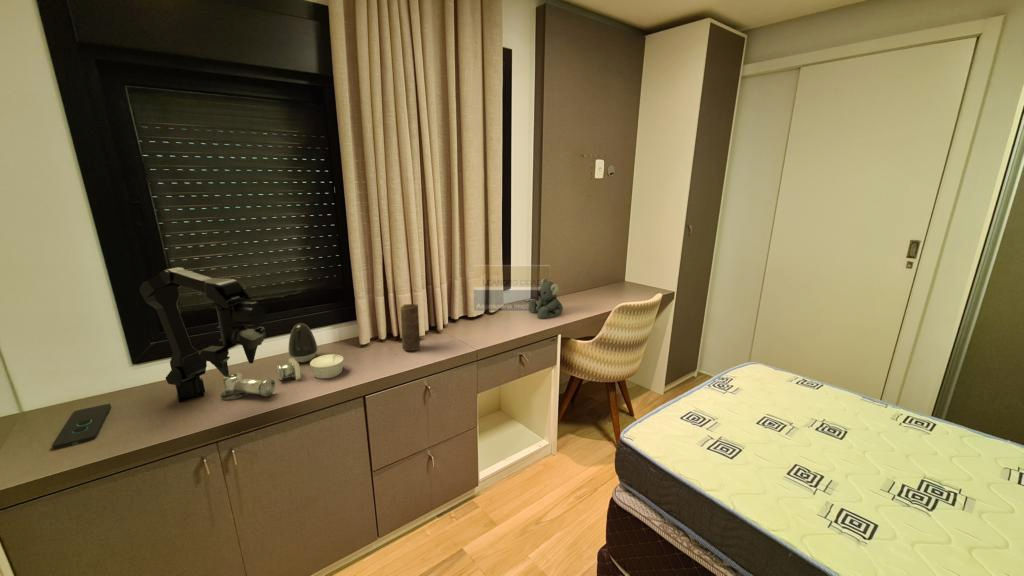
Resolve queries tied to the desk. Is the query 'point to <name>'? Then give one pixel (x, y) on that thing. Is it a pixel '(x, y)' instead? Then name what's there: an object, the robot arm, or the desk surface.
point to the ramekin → (327, 366)
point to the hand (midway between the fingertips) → (239, 369)
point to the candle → (410, 327)
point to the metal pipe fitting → (282, 371)
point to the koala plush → (546, 301)
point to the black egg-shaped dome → (302, 343)
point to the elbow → (247, 385)
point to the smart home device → (82, 426)
